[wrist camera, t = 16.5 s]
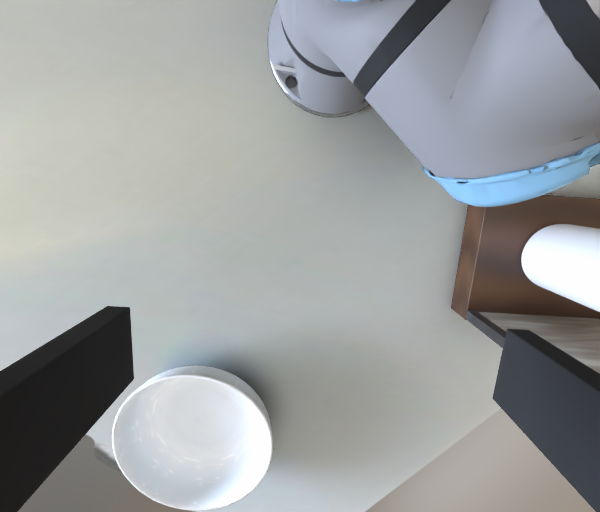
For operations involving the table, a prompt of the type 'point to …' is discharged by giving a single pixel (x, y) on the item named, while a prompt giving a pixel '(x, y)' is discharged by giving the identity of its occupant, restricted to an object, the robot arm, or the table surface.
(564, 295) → the pill bottle
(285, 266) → the table surface
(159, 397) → the serving bowl
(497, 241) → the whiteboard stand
